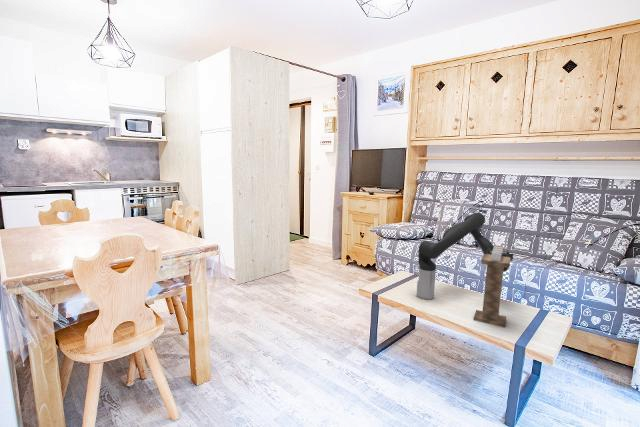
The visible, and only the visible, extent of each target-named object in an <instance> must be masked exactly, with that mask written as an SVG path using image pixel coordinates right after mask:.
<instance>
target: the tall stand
mask: <svg viewBox="0 0 640 427" xmlns="http://www.w3.org/2000/svg"><path fill="white" fill-rule="evenodd" d="M510 259H511V258H510V257H503V256H501V261H500V262H499V261H492V260H491V255H489V254H484V253H483V254H482V257H481V261H480V263H481V265H486V271H485V272H486V274H485V283H484V292H483V293H484V294H483V302H482V310H478V309H476V310H475V311H474V312H475V313H474V316H473V321H476V322H481V323H486V324H490V325H494V326H498V327H501V328H506V326H507V325H506V323H507V316H506V315H500V306H501V305H500V304H501V295H502V285H503V276H504V272H503V269H504V267H506V268H508V269H510V267H511V266H510V265H511V261H510Z"/></svg>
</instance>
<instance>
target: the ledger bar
mask: <svg viewBox="0 0 640 427" xmlns="http://www.w3.org/2000/svg"><path fill="white" fill-rule="evenodd" d="M493 246H494V248H493V251H492V254H491V260H492V261H499V262H500V261H501V256H502V253H503V251H504V246H503V245H497V244H496V245H495V244H494V245H493Z"/></svg>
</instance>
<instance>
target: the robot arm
mask: <svg viewBox="0 0 640 427" xmlns="http://www.w3.org/2000/svg"><path fill="white" fill-rule="evenodd" d="M485 222H486V218H485V216H484V214H482V213H480V212H473V213H470V214H469V215H466V216H465V217H464V218H463V221H461V222H459V223H457V224H455V225H452V226H450V227H449V228H447V229H446V230H445V231H444V232H443V234H442V239H440V240H439V241H437V242H432V241H429V240H423V241H422V242H421V243H420V244H419V247H418V259H417V260H418V261H417V262H418V266H419V269H418V280H417V282H416V295H415V296H416V297H418V298H419V299H422V300H433V299H434V297H435V285H436V275H437V274H436V272H437V265H436V263H435V262H434V261H432V260H435V259H437V258H439V256H441V255H442V254H443V253H445V251H446V250H448V249H449V248H451V247H453V245H455V244H456V243H458V242H459V241H461V240H463V238H465V237H466V236H468V235H469V234H471V236H472V237H473V239H474V240H475V242H476V243H477V244H478V246H479V247H480V249H481V251H482V253H483V255H484V254H489V255H491V254H492V251H493V248H494V245H493V243H492V242H491V241H490V240H489V239H488V238H486V237H485V236H484V235H483V234H482V233H481V232H480V230H479V228H481V227H482V226H484V225H485ZM502 256H503V257H510V258H511V259H510V262H513V259H514V253H511V252H510V251H508V250H506V252H502ZM508 269H509V268H506V267H504V269H503V273H504V272H507V271H508Z"/></svg>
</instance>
